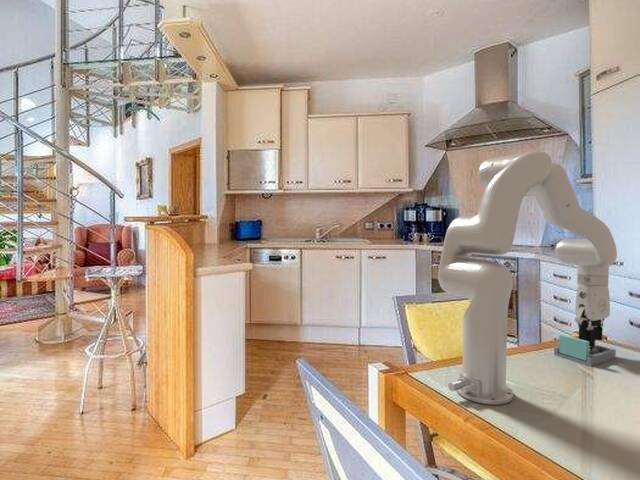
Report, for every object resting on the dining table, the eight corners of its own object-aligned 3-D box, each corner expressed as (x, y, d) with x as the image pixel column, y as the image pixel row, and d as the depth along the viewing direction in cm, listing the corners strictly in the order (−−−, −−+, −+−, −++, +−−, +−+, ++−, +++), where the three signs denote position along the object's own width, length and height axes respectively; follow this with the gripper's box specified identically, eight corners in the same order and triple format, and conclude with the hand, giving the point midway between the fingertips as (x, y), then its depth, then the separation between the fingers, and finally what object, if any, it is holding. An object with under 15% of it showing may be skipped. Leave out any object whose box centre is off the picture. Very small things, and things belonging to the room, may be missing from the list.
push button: (598, 354, 109) (600, 319, 109) (576, 350, 113) (577, 316, 112) (600, 348, 114) (601, 315, 114) (579, 344, 118) (580, 312, 117)
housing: (590, 366, 105) (590, 358, 105) (554, 354, 114) (554, 347, 114) (615, 357, 111) (615, 349, 111) (579, 347, 120) (579, 340, 120)
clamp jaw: (585, 360, 106) (586, 342, 106) (558, 352, 113) (559, 335, 113) (588, 359, 107) (589, 341, 107) (561, 351, 114) (562, 334, 113)
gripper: (590, 285, 105) (587, 349, 107) (622, 279, 113) (619, 339, 114) (562, 281, 112) (560, 341, 113) (594, 276, 120) (592, 332, 121)
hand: (590, 339), depth 114 cm, fingers closed on push button, 4 cm apart
